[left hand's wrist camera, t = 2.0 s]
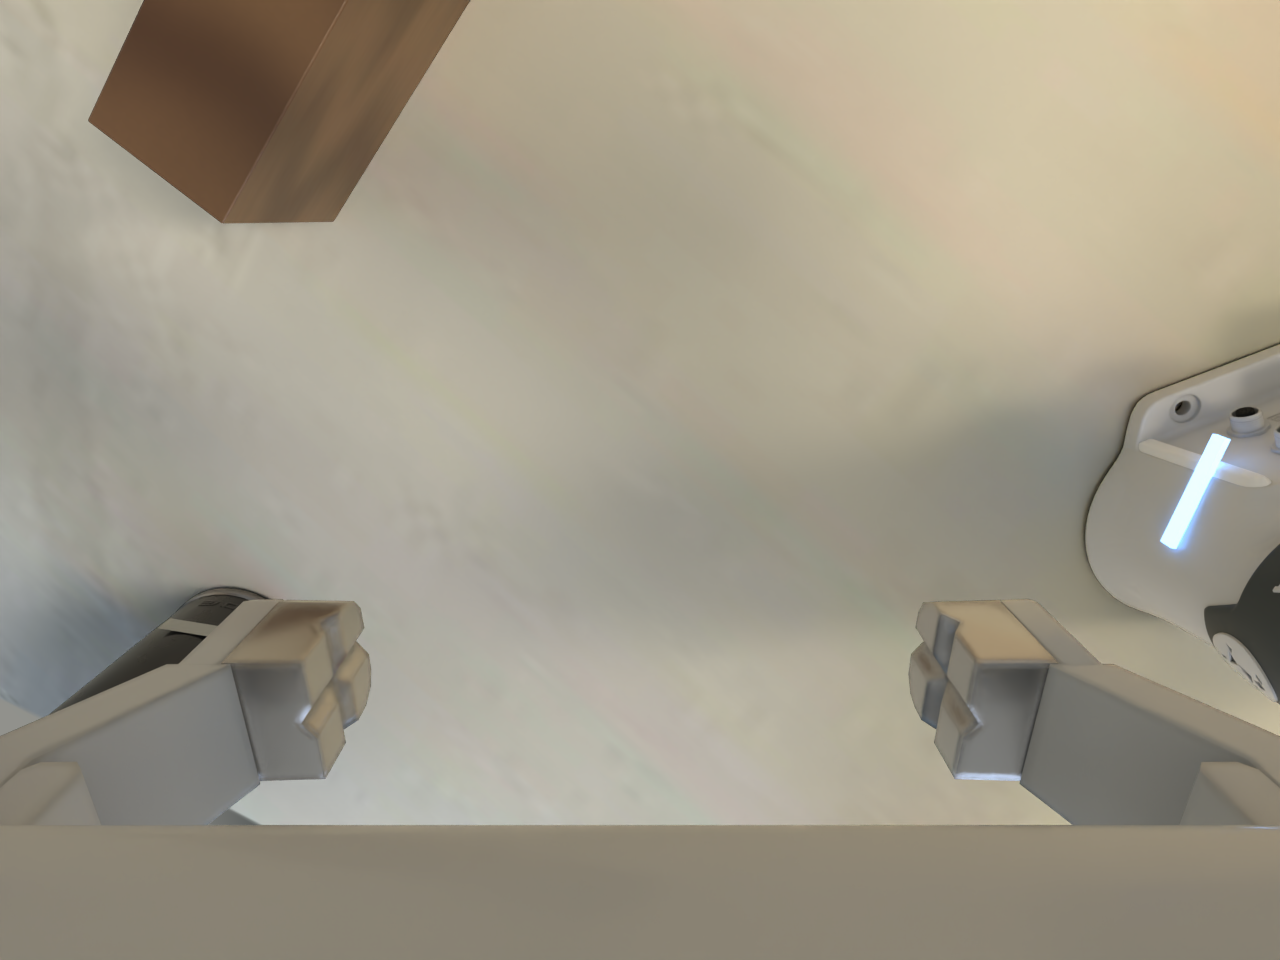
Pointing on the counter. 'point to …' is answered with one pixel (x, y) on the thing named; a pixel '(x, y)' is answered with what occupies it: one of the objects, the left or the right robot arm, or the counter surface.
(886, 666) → the counter surface
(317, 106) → the box
